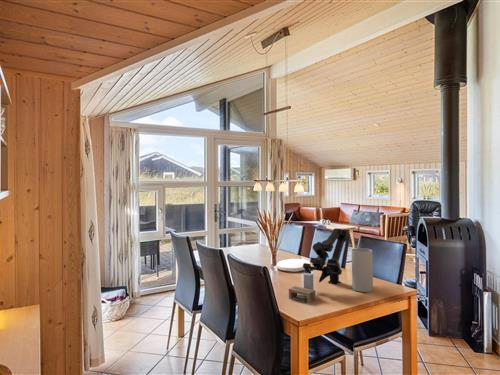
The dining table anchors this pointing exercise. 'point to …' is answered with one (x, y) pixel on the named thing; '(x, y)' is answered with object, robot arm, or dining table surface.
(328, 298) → the dining table surface
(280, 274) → the dining table surface
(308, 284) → the tall grey prism
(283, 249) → the dining table surface
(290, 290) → the brown hollow brick
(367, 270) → the cylinder vase
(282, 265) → the plate
